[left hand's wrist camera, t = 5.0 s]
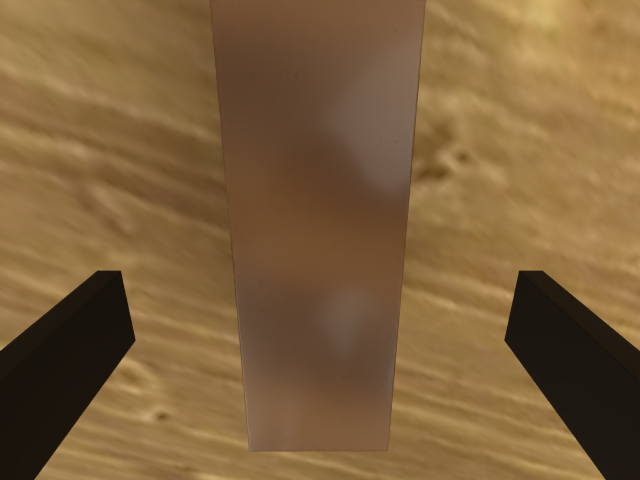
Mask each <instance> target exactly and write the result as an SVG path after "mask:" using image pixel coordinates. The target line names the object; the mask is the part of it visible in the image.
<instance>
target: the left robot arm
mask: <svg viewBox="0 0 640 480" xmlns="http://www.w3.org/2000/svg"><path fill="white" fill-rule="evenodd" d="M135 341H136V340H135V335H134V331H133V326H132V321H131V316H130V312H129V307H128V302H127V298H126V293H125V288H124V283H123V279H122V274H121V271H97V272H95V273H94V274H93V275H92V276H91V277H89V278H88V279H87V280H86V281H84V282H83V283H82V284H81V285H80V286H78V287H77V288H76V289H75V290H74V291H72V292H71V293H70V294H69V295H68V296H66V297H65V298H64V299H63V300H61V301H60V302H59V303H58V304H57V305H55V306H54V307H53V308H52V309H51V310H49V311H48V312H47V313H46V314H45V315H43V316H42V317H41V318H40V319H38V320H37V321H36V322H35V323H34V324H32V325H31V326H30V327H29V328H28V329H26V330H25V331H24V332H23V333H22V334H20V335H19V336H18V337H17V338H15V339H14V340H13V341H12V342H11V343H9V344H8V345H7V346H6V347H5V348H3V349H2V350H1V351H0V480H34V479H35V478H36V477H37V475H38V474H39V473H40V471H41V470H42V468H43V467H44V466H45V464H46V463H47V462H48V460H49V459H50V457H51V456H52V455H53V453H54V452H55V451H56V449H57V448H58V446H59V445H60V444H61V442H62V441H63V440H64V438H65V437H66V435H67V434H68V433H69V431H70V430H71V429H72V427H73V426H74V424H75V423H76V422H77V420H78V419H79V418H80V416H81V415H82V413H83V412H84V411H85V409H86V408H87V407H88V405H89V404H90V402H91V401H92V400H93V398H94V397H95V396H96V394H97V393H98V391H99V390H100V389H101V387H102V386H103V385H104V383H105V382H106V380H107V379H108V378H109V376H110V375H111V374H112V372H113V371H114V369H115V368H116V367H117V365H118V364H119V363H120V361H121V360H122V358H123V357H124V356H125V354H126V353H127V352H128V350H129V349H130V347H131V346H132V345H133V343H134V342H135ZM504 341H505V342H506V343H507V345H508V346H509V347H510V349H511V350H512V352H513V353H514V354H515V356H516V357H517V358H518V360H519V361H520V363H521V364H522V365H523V367H524V368H525V369H526V371H527V372H528V374H529V375H530V376H531V378H532V379H533V380H534V382H535V383H536V385H537V386H538V387H539V389H540V390H541V391H542V393H543V394H544V396H545V397H546V398H547V400H548V401H549V402H550V404H551V405H552V407H553V408H554V409H555V411H556V412H557V413H558V415H559V416H560V418H561V419H562V420H563V422H564V423H565V424H566V426H567V427H568V429H569V430H570V431H571V433H572V434H573V435H574V437H575V438H576V440H577V441H578V442H579V444H580V445H581V446H582V448H583V449H584V451H585V452H586V453H587V455H588V456H589V457H590V459H591V460H592V462H593V463H594V464H595V466H596V467H597V468H598V470H599V471H600V473H601V474H602V475H603V477H604V478H605V479H606V480H640V351H639V350H638V349H637V348H635V347H634V346H633V345H632V344H631V343H629V342H628V341H627V340H626V339H625V338H623V337H622V336H621V335H620V334H618V333H617V332H616V331H615V330H614V329H612V328H611V327H610V326H609V325H608V324H606V323H605V322H604V321H603V320H602V319H600V318H599V317H598V316H597V315H595V314H594V313H593V312H592V311H591V310H589V309H588V308H587V307H586V306H585V305H583V304H582V303H581V302H580V301H579V300H577V299H576V298H575V297H574V296H572V295H571V294H570V293H569V292H568V291H566V290H565V289H564V288H563V287H562V286H560V285H559V284H558V283H557V282H556V281H554V280H553V279H552V278H551V277H549V276H548V275H547V274H546V273H545V272H543V271H519V274H518V279H517V283H516V288H515V293H514V298H513V302H512V307H511V312H510V316H509V321H508V326H507V331H506V335H505V340H504Z"/></svg>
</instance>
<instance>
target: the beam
mask: <svg viewBox="0 0 640 480" xmlns="http://www.w3.org/2000/svg"><path fill="white" fill-rule="evenodd" d="M425 4H426V0H210V7H211V19H212V30H213V41H214V53H215V64H216V76H217V87H218V99H219V110H220V122H221V133H222V145H223V156H224V167H225V179H226V190H227V202H228V213H229V225H230V236H231V248H232V259H233V271H234V282H235V294H236V305H237V316H238V328H239V339H240V351H241V362H242V374H243V385H244V397H245V408H246V420H247V431H248V442H249V451H388V445H389V433H390V421H391V409H392V397H393V385H394V374H395V362H396V350H397V338H398V326H399V314H400V302H401V290H402V278H403V266H404V254H405V242H406V230H407V219H408V207H409V195H410V183H411V171H412V159H413V147H414V135H415V123H416V111H417V99H418V87H419V76H420V64H421V52H422V40H423V28H424V16H425Z"/></svg>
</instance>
